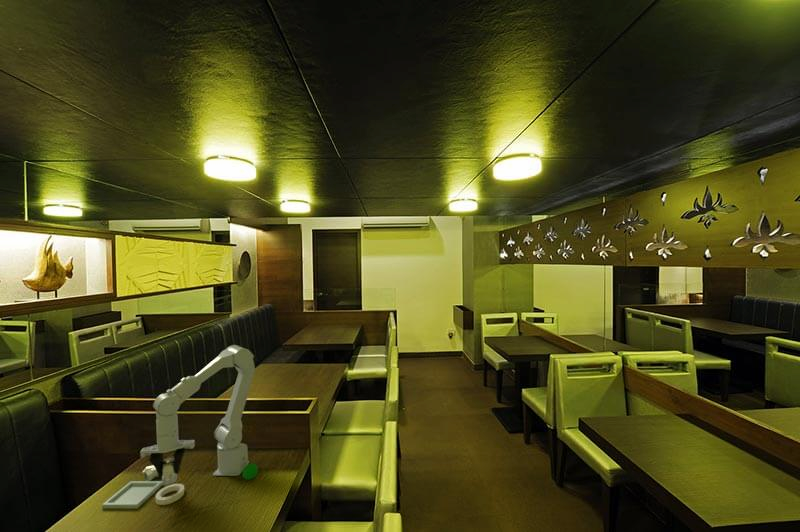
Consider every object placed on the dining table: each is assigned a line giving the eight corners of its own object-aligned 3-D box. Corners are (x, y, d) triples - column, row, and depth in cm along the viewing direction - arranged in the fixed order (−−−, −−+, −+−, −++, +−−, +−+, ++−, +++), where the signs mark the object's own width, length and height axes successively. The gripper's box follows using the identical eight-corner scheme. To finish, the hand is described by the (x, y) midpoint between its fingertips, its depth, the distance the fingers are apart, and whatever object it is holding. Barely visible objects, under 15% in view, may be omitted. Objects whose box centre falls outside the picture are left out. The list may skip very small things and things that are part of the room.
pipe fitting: (140, 478, 122) (148, 484, 118) (139, 467, 122) (147, 472, 118) (165, 467, 128) (174, 471, 125) (164, 456, 128) (173, 460, 125)
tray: (162, 485, 117) (162, 481, 117) (137, 508, 106) (137, 504, 106) (131, 485, 117) (130, 481, 117) (102, 509, 106) (102, 504, 106)
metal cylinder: (180, 476, 113) (179, 457, 113) (171, 484, 109) (170, 464, 109) (168, 476, 113) (167, 457, 113) (159, 485, 109) (158, 464, 109)
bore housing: (189, 488, 115) (189, 483, 115) (173, 504, 107) (173, 499, 107) (167, 488, 115) (166, 483, 115) (150, 504, 108) (149, 499, 108)
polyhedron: (243, 475, 121) (242, 462, 121) (258, 472, 123) (257, 459, 123) (242, 484, 117) (241, 470, 116) (257, 480, 118) (257, 467, 118)
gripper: (196, 422, 117) (198, 461, 117) (145, 429, 112) (147, 470, 113) (190, 432, 110) (192, 474, 111) (136, 440, 106) (139, 484, 106)
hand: (169, 473), depth 111 cm, fingers closed on metal cylinder, 4 cm apart
